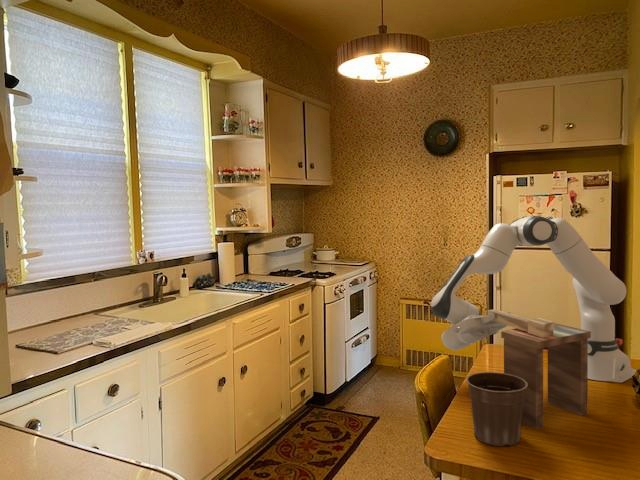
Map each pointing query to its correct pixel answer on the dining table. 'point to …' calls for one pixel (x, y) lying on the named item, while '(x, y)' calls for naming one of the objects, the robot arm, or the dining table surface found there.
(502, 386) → the plant pot
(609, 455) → the dining table surface
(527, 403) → the shelf
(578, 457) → the dining table surface
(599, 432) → the dining table surface
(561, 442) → the dining table surface
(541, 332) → the marker stick
